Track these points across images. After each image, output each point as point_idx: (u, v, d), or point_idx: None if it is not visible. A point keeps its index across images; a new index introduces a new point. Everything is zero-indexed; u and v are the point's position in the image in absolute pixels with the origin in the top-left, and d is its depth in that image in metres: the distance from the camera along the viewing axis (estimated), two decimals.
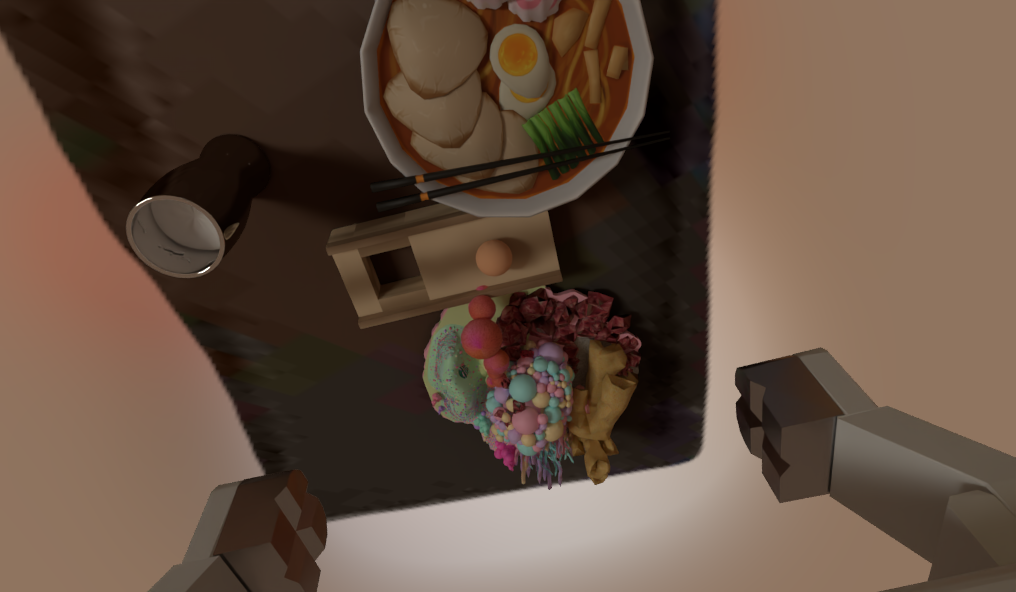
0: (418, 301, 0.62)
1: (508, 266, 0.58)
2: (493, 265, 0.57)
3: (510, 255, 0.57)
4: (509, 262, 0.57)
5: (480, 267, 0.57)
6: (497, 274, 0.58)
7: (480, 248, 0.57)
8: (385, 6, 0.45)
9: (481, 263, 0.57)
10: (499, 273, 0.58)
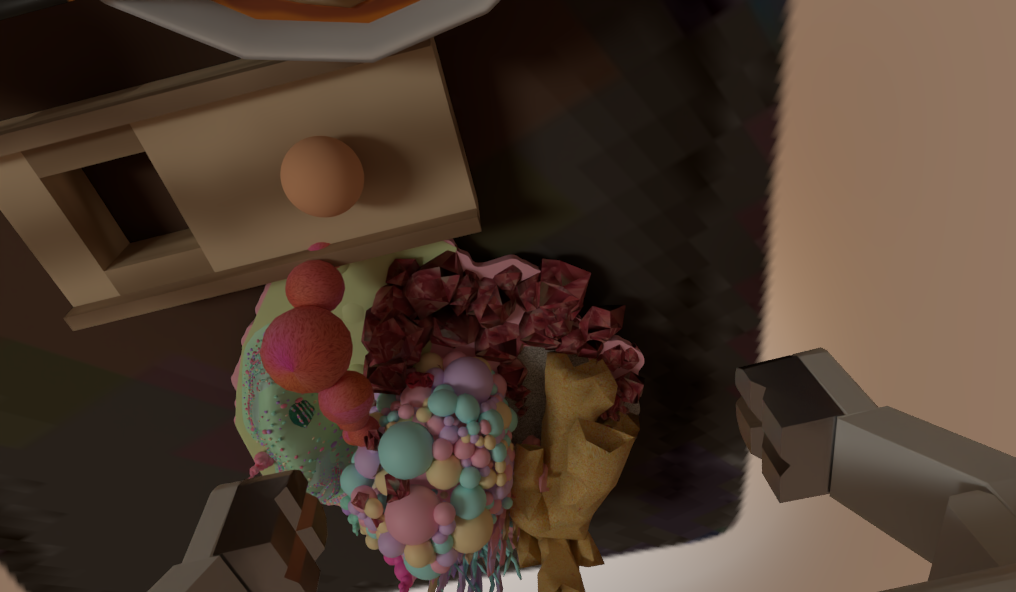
0: (190, 275, 0.31)
1: (351, 194, 0.26)
2: (312, 189, 0.25)
3: (354, 169, 0.26)
4: (350, 184, 0.26)
5: (288, 196, 0.26)
6: (327, 211, 0.26)
7: (287, 153, 0.26)
8: None
9: (287, 186, 0.25)
10: (330, 209, 0.26)
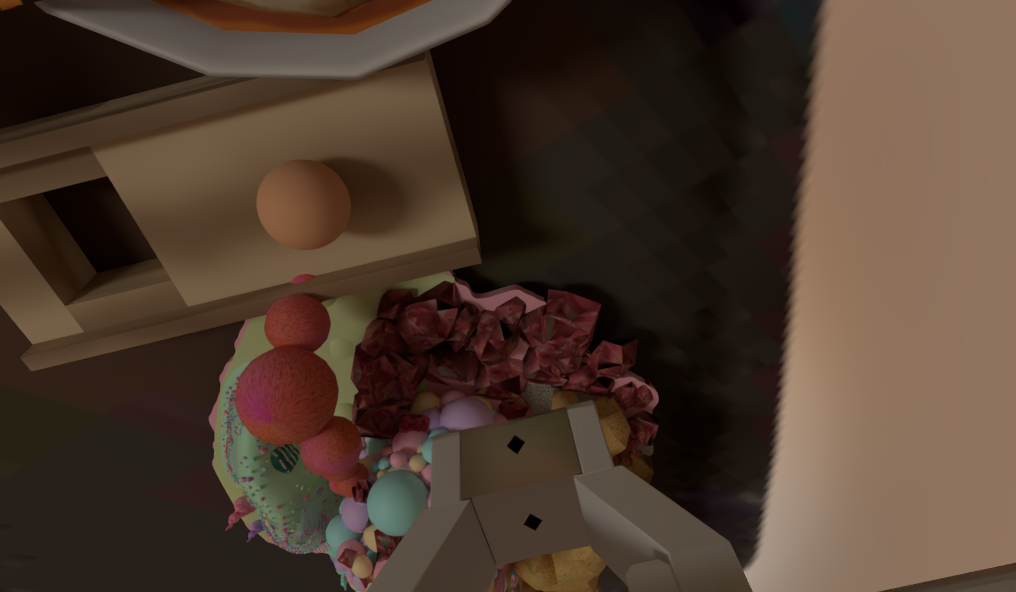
0: (160, 310, 0.28)
1: (335, 224, 0.23)
2: (291, 220, 0.22)
3: (339, 197, 0.23)
4: (335, 214, 0.23)
5: (264, 227, 0.23)
6: (308, 244, 0.23)
7: (263, 179, 0.23)
8: None
9: (263, 216, 0.23)
10: (312, 242, 0.23)
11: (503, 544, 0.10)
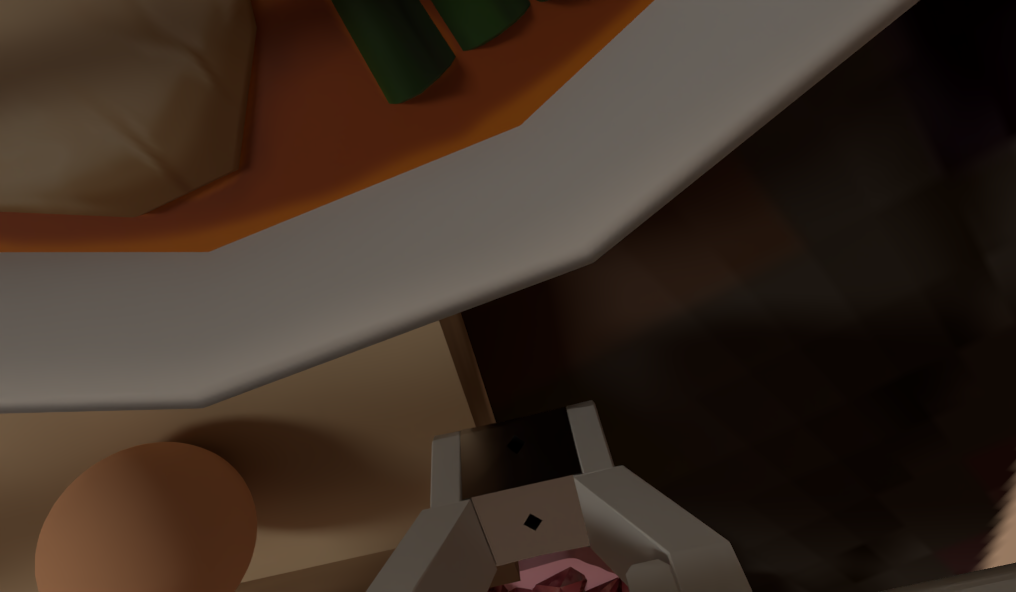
0: None
1: None
2: None
3: (221, 544, 0.11)
4: (208, 587, 0.10)
5: None
6: None
7: (51, 509, 0.10)
8: None
9: None
10: None
11: (503, 544, 0.10)
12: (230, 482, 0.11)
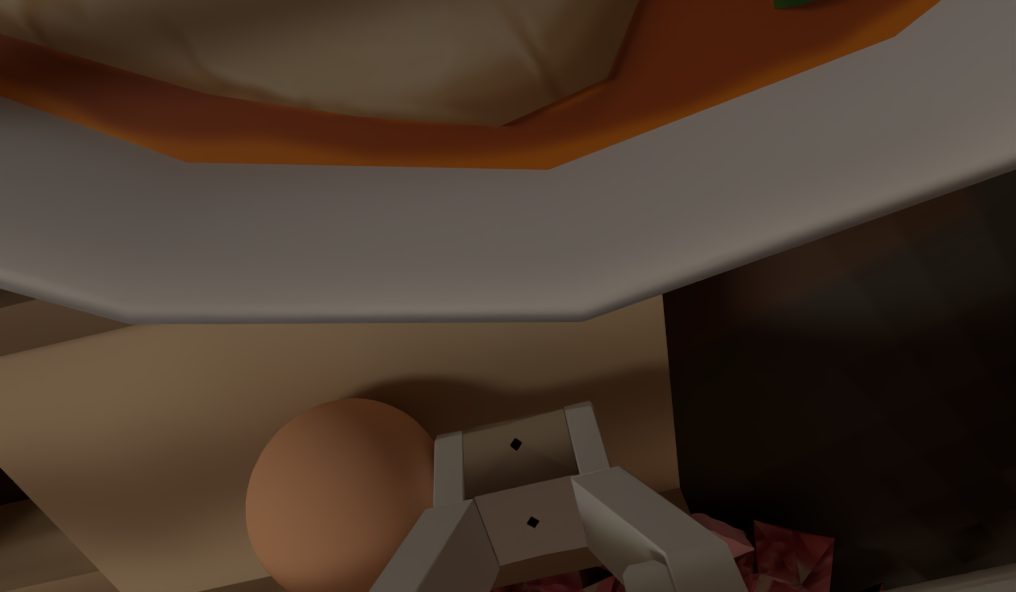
0: None
1: None
2: (304, 582, 0.10)
3: None
4: None
5: None
6: None
7: (264, 453, 0.10)
8: None
9: (252, 545, 0.10)
10: None
11: (506, 543, 0.10)
12: (430, 453, 0.11)
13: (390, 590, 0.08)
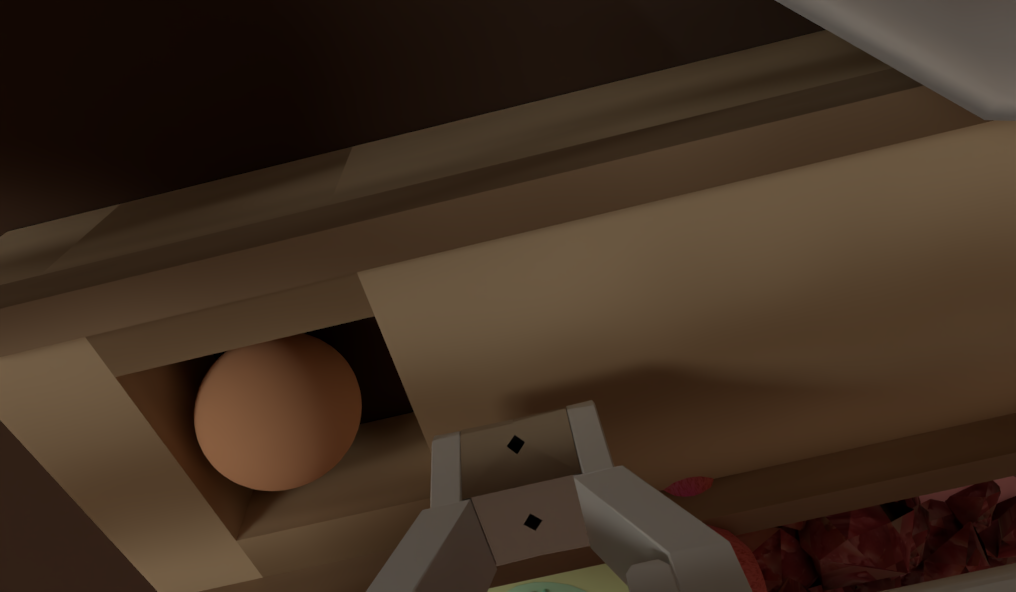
0: None
1: (306, 475, 0.13)
2: (223, 465, 0.12)
3: (321, 434, 0.13)
4: (304, 464, 0.13)
5: None
6: None
7: (214, 363, 0.13)
8: None
9: (195, 431, 0.13)
10: (266, 490, 0.13)
11: (503, 544, 0.10)
12: (342, 385, 0.13)
13: (387, 591, 0.08)
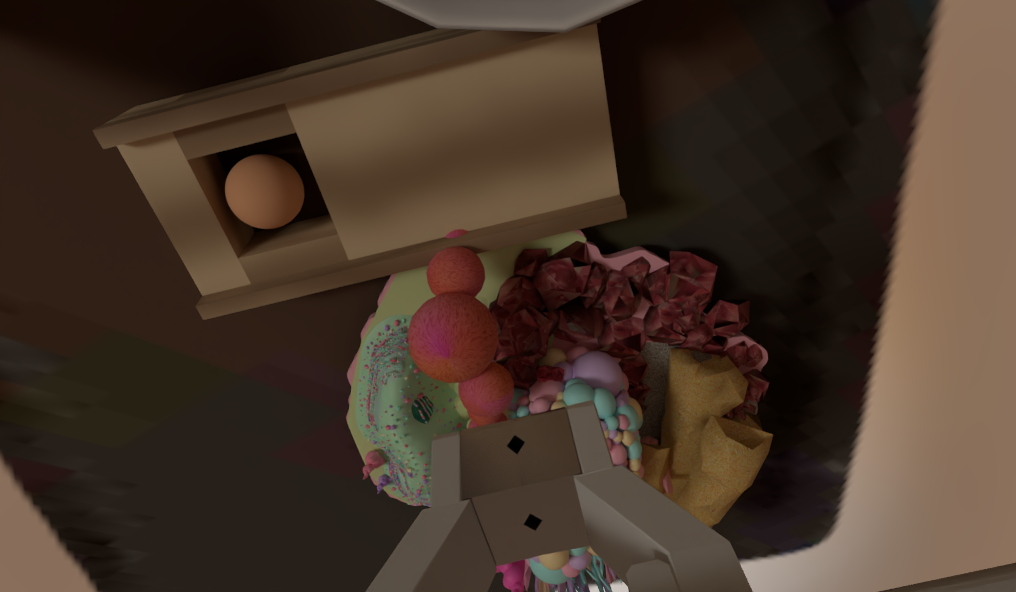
0: (323, 263, 0.30)
1: (281, 212, 0.28)
2: (243, 205, 0.28)
3: (287, 190, 0.28)
4: (280, 204, 0.28)
5: (229, 206, 0.29)
6: (260, 225, 0.28)
7: (233, 167, 0.28)
8: None
9: (226, 198, 0.28)
10: (262, 223, 0.28)
11: (503, 544, 0.10)
12: (295, 174, 0.29)
13: (386, 591, 0.08)
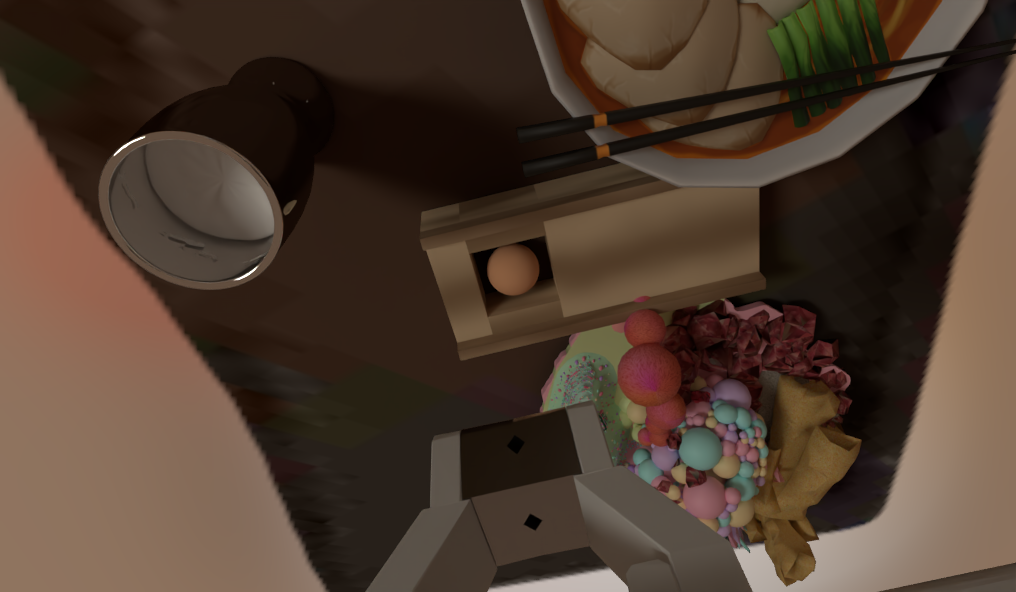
0: (546, 319, 0.42)
1: (532, 283, 0.40)
2: (511, 281, 0.39)
3: (536, 268, 0.40)
4: (533, 278, 0.40)
5: (492, 281, 0.40)
6: (515, 293, 0.40)
7: (494, 254, 0.40)
8: None
9: (494, 276, 0.40)
10: (518, 292, 0.40)
11: (503, 544, 0.10)
12: (534, 255, 0.41)
13: (386, 591, 0.08)
